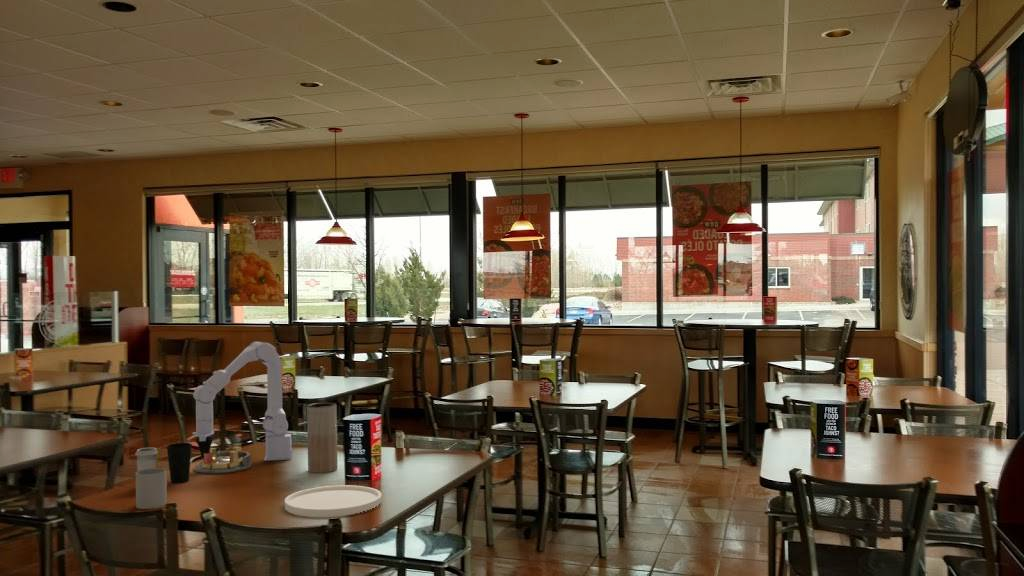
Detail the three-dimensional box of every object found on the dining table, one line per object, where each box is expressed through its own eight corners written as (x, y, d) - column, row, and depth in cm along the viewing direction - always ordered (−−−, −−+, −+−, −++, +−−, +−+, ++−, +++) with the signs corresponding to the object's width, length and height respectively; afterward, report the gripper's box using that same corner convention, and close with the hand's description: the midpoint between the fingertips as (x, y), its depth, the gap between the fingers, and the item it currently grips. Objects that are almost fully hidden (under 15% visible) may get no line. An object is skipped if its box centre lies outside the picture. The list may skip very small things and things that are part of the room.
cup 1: (131, 486, 271) (130, 449, 271) (151, 482, 276) (150, 446, 276) (143, 490, 266) (142, 452, 266) (162, 485, 272) (162, 448, 272)
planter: (309, 474, 286) (308, 407, 285) (306, 468, 295) (305, 403, 295) (339, 471, 289) (338, 405, 289) (335, 465, 298) (334, 402, 298)
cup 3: (186, 484, 274) (185, 447, 274) (163, 484, 274) (162, 447, 274) (195, 478, 281) (195, 442, 281) (173, 478, 282) (172, 442, 282)
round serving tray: (254, 460, 308) (254, 449, 308) (247, 472, 290) (247, 460, 290) (199, 463, 305) (199, 452, 305) (189, 475, 286) (189, 463, 286)
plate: (292, 523, 228) (292, 514, 228) (278, 499, 254) (278, 491, 254) (393, 510, 239) (392, 502, 239) (369, 489, 265) (369, 481, 265)
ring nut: (247, 459, 306) (246, 445, 306) (241, 467, 292) (241, 453, 292) (205, 461, 303) (204, 447, 303) (197, 470, 289) (197, 455, 289)
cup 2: (173, 502, 250) (172, 469, 250) (152, 509, 243) (152, 475, 242) (150, 500, 253) (149, 467, 253) (129, 507, 245) (129, 473, 245)
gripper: (195, 417, 302) (195, 454, 302) (189, 423, 288) (190, 463, 288) (215, 416, 304) (216, 453, 304) (211, 422, 290) (212, 461, 290)
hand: (205, 458), depth 296 cm, fingers closed
